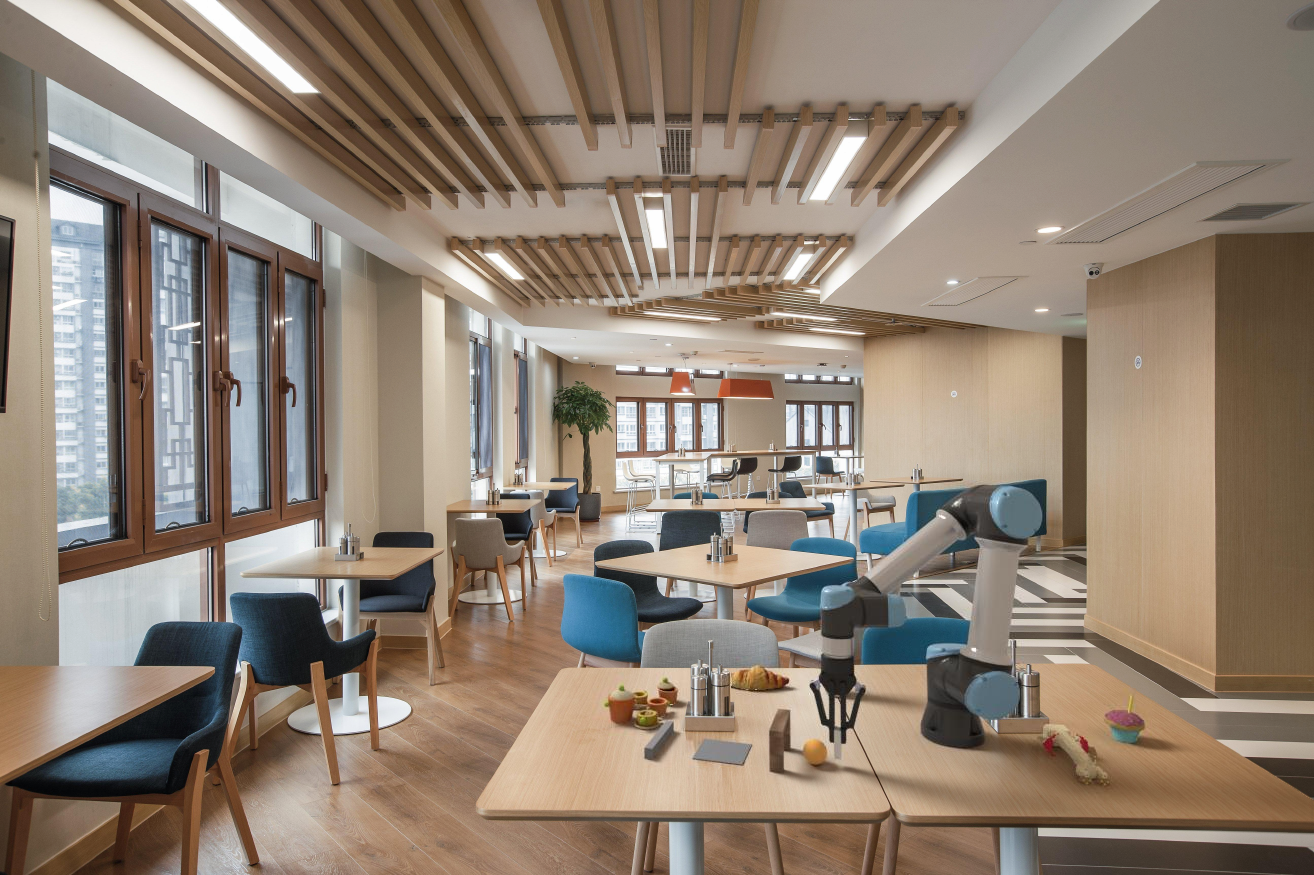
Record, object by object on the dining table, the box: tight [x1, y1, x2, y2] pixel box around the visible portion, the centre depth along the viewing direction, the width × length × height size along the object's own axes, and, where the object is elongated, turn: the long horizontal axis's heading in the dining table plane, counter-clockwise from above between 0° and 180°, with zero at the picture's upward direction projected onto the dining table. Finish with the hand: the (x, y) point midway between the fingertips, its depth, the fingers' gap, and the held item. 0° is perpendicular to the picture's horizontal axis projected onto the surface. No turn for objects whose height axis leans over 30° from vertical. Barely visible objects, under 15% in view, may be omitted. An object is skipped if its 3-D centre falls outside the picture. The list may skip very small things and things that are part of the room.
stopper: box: [643, 720, 675, 760], centre depth 176 cm, size 2×18×2 cm, turn 162°
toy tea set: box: [603, 677, 679, 731], centre depth 198 cm, size 26×16×10 cm, turn 159°
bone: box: [1036, 723, 1111, 786], centre depth 165 cm, size 10×9×25 cm
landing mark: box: [691, 738, 752, 766], centre depth 171 cm, size 12×12×1 cm
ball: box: [802, 738, 828, 766], centre depth 164 cm, size 6×6×6 cm
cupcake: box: [1103, 692, 1146, 744], centre depth 177 cm, size 9×8×12 cm
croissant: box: [731, 664, 790, 691], centre depth 220 cm, size 21×10×8 cm, turn 83°
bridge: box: [768, 708, 792, 774], centre depth 167 cm, size 3×14×9 cm, turn 162°
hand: (837, 756), depth 163 cm, fingers closed
